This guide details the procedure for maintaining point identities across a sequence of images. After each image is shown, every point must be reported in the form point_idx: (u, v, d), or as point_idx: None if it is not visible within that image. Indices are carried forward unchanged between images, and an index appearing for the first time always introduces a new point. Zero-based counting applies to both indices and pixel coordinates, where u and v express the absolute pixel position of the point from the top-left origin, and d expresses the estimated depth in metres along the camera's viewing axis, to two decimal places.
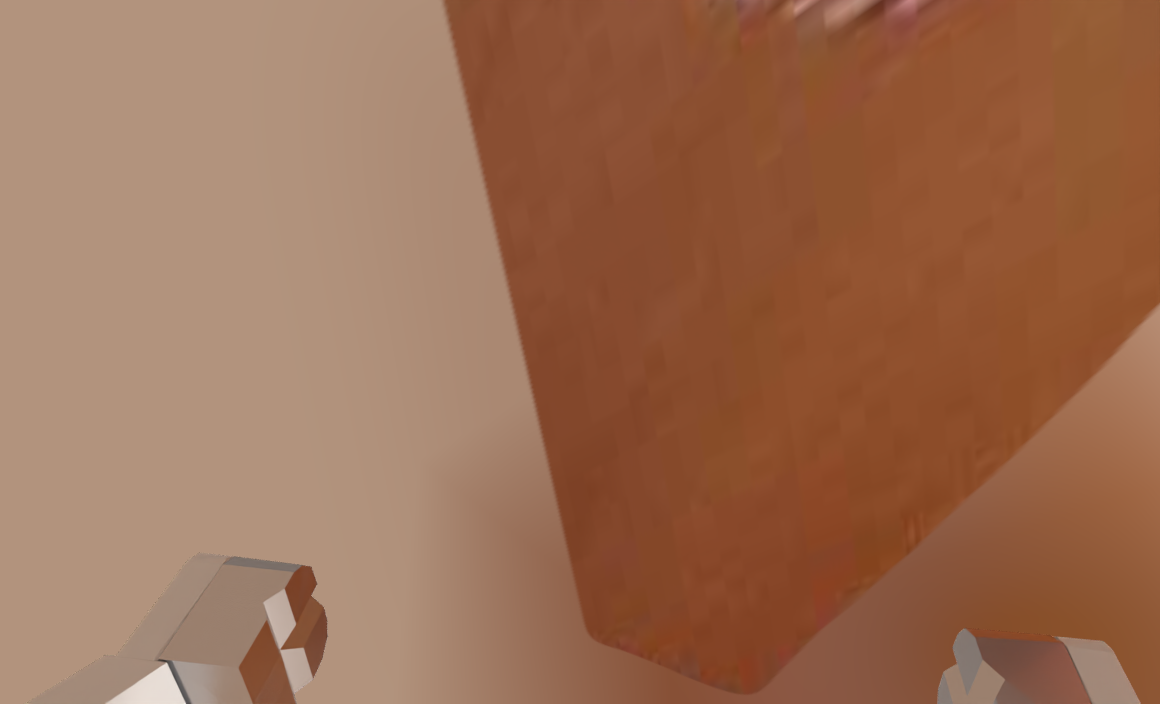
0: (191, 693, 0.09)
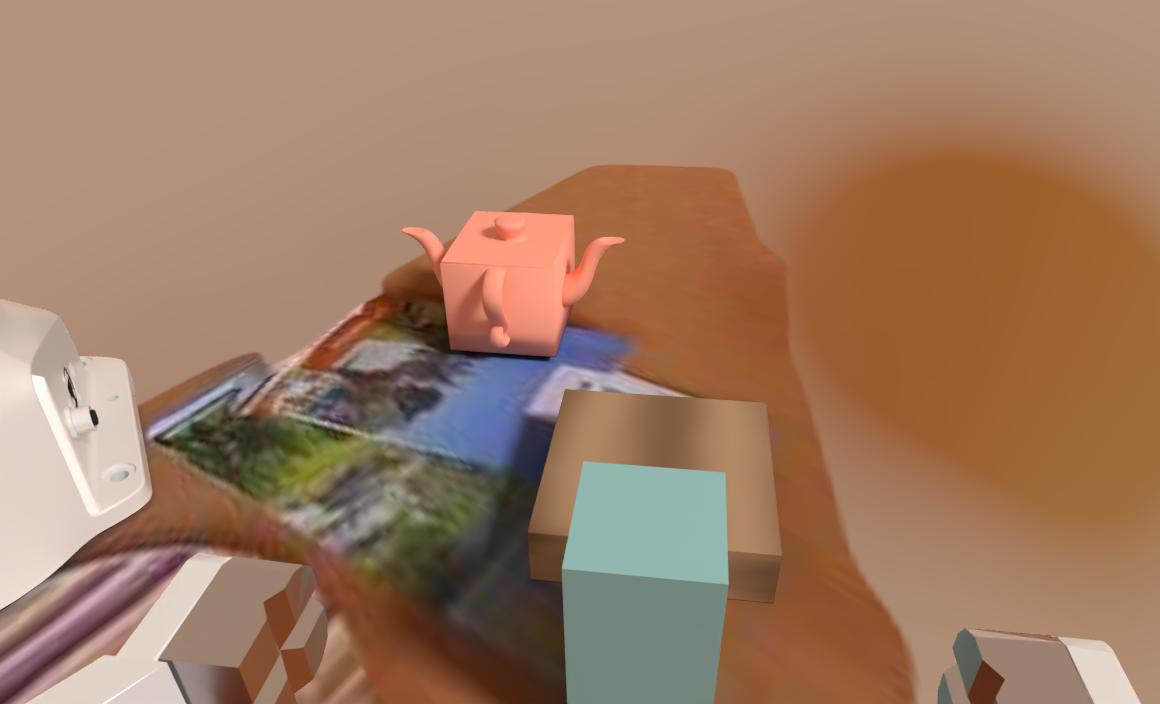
0: (191, 693, 0.09)
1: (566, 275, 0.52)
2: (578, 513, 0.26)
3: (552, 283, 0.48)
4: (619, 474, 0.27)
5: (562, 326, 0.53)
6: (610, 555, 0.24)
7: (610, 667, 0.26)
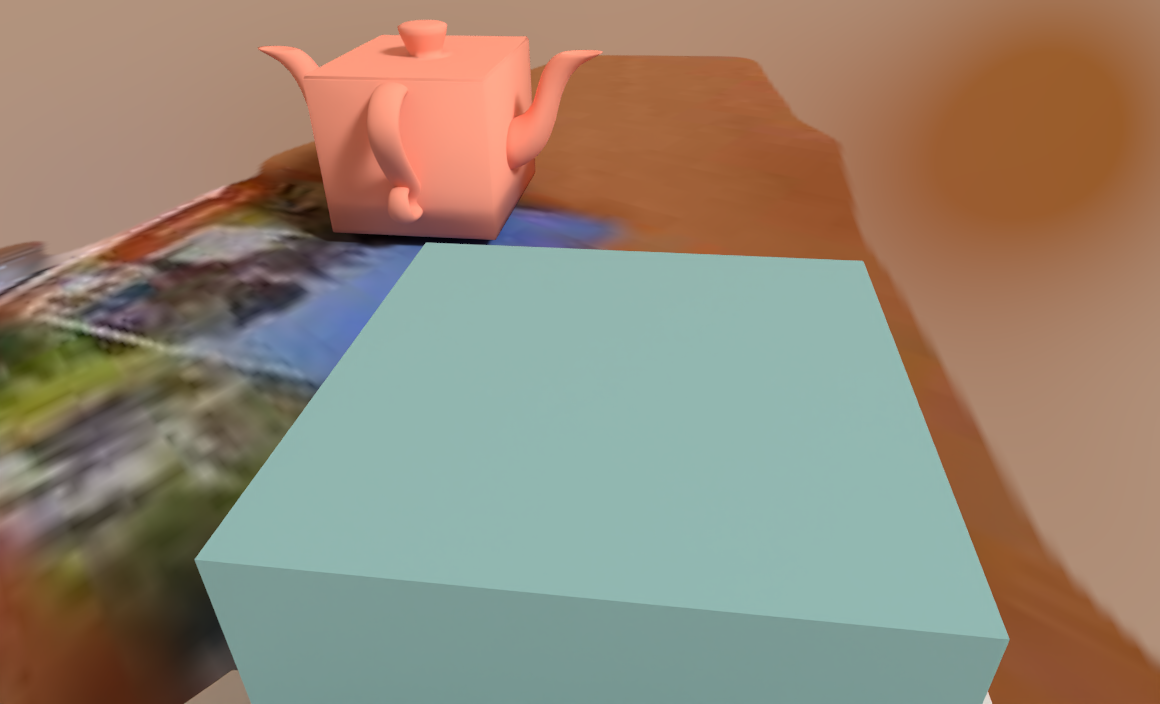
0: None
1: (514, 118, 0.34)
2: (358, 362, 0.07)
3: (483, 108, 0.30)
4: (528, 269, 0.09)
5: (509, 199, 0.34)
6: (439, 500, 0.06)
7: None
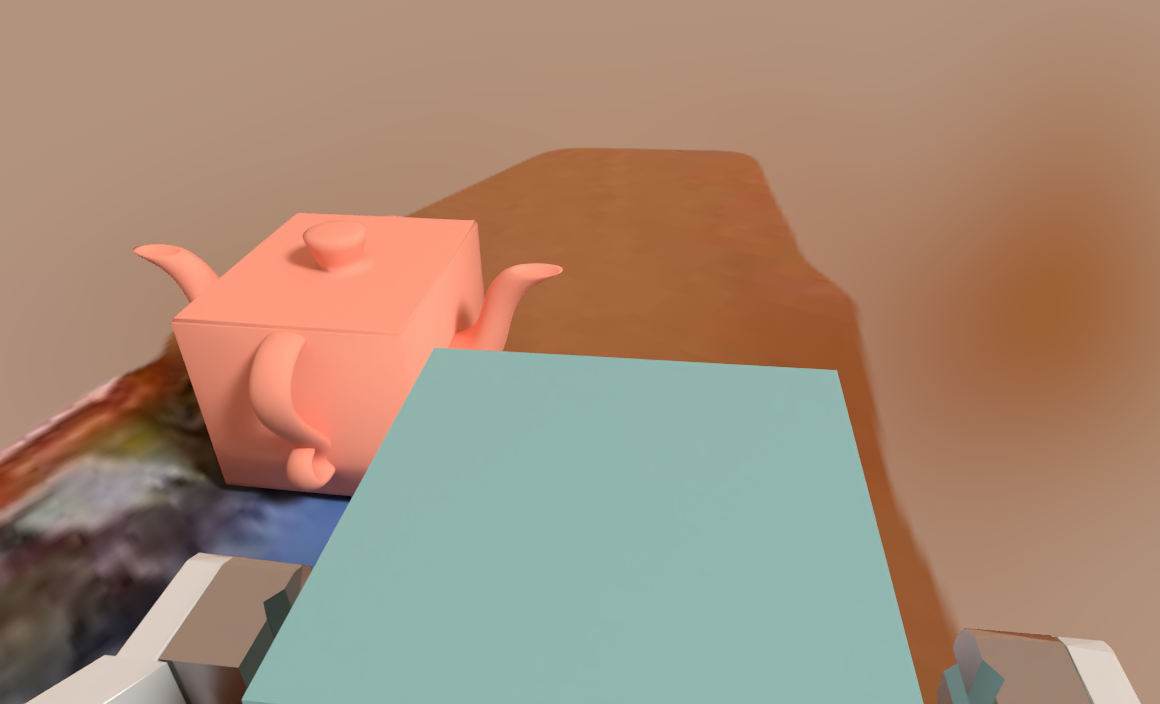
0: (191, 693, 0.09)
1: (455, 337, 0.27)
2: (376, 485, 0.08)
3: (404, 364, 0.23)
4: (529, 378, 0.09)
5: None
6: (452, 638, 0.06)
7: None
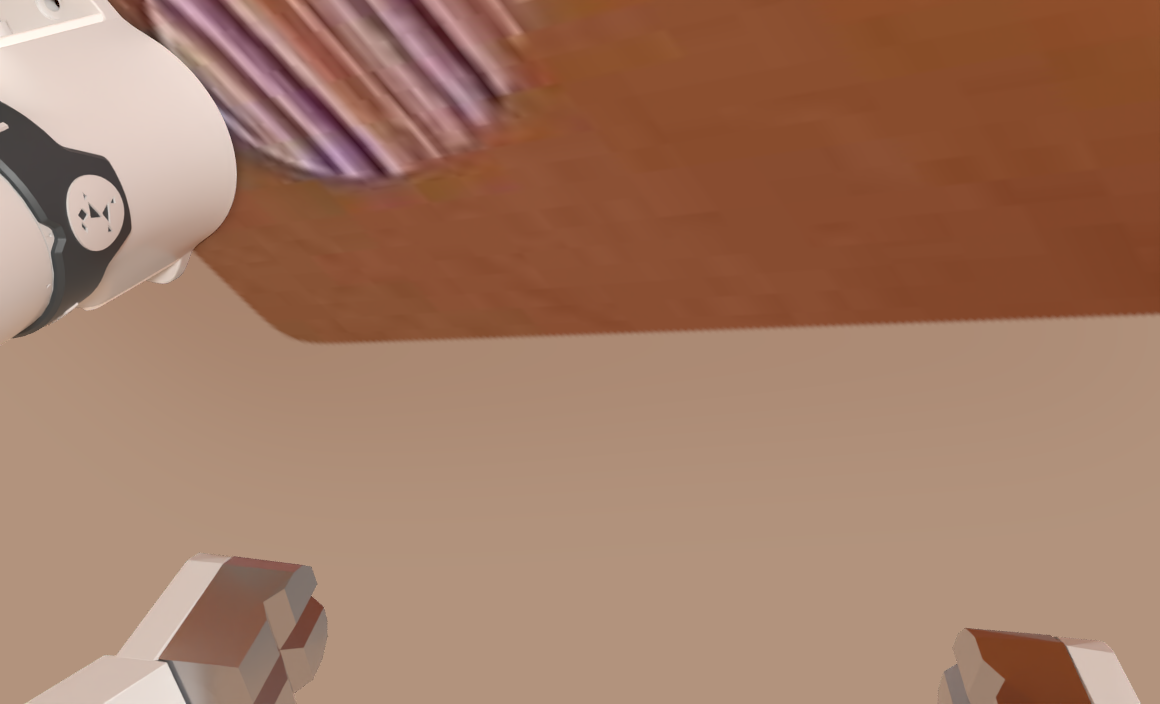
0: (191, 693, 0.09)
1: None
2: None
3: None
4: None
5: None
6: None
7: None
